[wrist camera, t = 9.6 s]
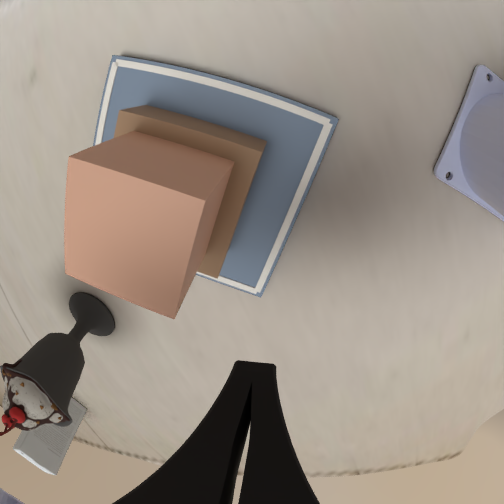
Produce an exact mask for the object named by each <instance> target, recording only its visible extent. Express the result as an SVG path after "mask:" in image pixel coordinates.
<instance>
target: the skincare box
mask: <svg viewBox="0 0 504 504" xmlns="http://www.w3.org/2000/svg"><path fill="white" fill-rule="evenodd" d="M86 411H87V409H86V408H85V407H83V406H82V405H81V404H80V403H78V402H77V401H76V400H75V399H73V398H72V397H71V400H70V403H69V407H68V413H69V415H70V416H71V418H72V423H71V424H70V425H68V426H65V427H61V426H57V425H54V424H43V425H41V426H39V427H38V428H36V429H35V430H31V431H24V430H22V432H21V434H20V436H19V437H18V439H17V441H16V443H15V445H14V447H13V450H15V451H16V452H17V453H19V454H20V455H22V456H23V457H25V458H26V459H27V460H28V461H30V462H31V463H33V464H34V465H35V466H37V467H38V468H40V469H41V470H43V471H45V472H46V473H49V474H52V475H57V473H58V470H59V468H60V466H61V464H62V461H63V459H64V457H65V455H66V452H67V450H68V448H69V446H70V444H71V442H72V440H73V438H74V435H75V433H76V431H77V429H78V427H79V425H80V423H81V421H82V419H83V417H84V415H85V413H86Z"/></svg>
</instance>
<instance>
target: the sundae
mask: <svg viewBox="0 0 504 504" xmlns="http://www.w3.org/2000/svg"><path fill="white" fill-rule="evenodd" d="M69 307H70V311H71V313H72V315H73V317H74V318H75V320H76V321H77V322H76V324H75V326H74V328H73V329H72V330H71V331H70V333H69V334H64V333H50V334H48V335H46V336H45V337H44V338H42V339H41V340H40V341H38V342H37V343H36V344H35V345H34V346H33V347H32V348H31V349H30V350H29V351H28V352H27V353H26V354H25V355H24V356H23V357H22V358H20V359H19V360H18V361H17V362H16V363H14V364H8V363H4V364H3V366H0V368H1V373H2V377H3V380H4V382H5V394H4V398H3V410H4V413H5V414H4V415H3V416H2V422H3V423H4V425H5V426H6V427H5V430H4V432H0V436H2V435H4V434H6V433H7V432H9V431H10V430H11V429H13V428H14V427H17V428H19V429H21V430H24V431H31V430H35V429H36V428H38V427H39V426H41V425H43V424H54V425H57V426H61V427H65V426H68V425H70V424H71V423H72V418H71V416H70V415H69V413H68V407H69V403H70V400H71V397H72V395H73V392H74V390H75V388H76V385H77V383H78V381H79V379H80V376H81V373H82V370H83V367H84V363H85V361H84V356H83V352H82V350H81V348H80V341H81V340H82V338H83V337H84V336H85V335H86V334H87V333H88V332H90V333H92V334H94V335H97V336H108V335H110V334H111V333H112V332H113V331H114V328H115V326H114V320H113V317H112V315H111V313H110V312H109V310H108V309H107V308H106V307H105V305H104V304H103V303H102V302H100V301H99V300H98V299H96V298H95V297H93V296H91V295H88V294H85V293H75V294H74V295H72V296H71V298H70V301H69ZM7 428H9V429H8V430H7Z"/></svg>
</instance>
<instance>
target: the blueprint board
mask: <svg viewBox="0 0 504 504" xmlns="http://www.w3.org/2000/svg"><path fill="white" fill-rule="evenodd" d="M338 120H339V119H338V118H336V117H334V116H332V115H329V114H327V113H325V112H322V111H320V110H317V109H315V108H312V107H310V106H307V105H305V104H302V103H299V102H297V101H294V100H291V99H289V98H286V97H283V96H280V95H277V94H274V93H272V92H269V91H266V90H263V89H260V88H256V87H253V86H250V85H247V84H244V83H240V82H237V81H234V80H230V79H227V78H223V77H219V76H216V75H212V74H208V73H204V72H200V71H196V70H192V69H188V68H184V67H179V66H175V65H170V64H165V63H160V62H155V61H149V60H144V59H138V58H132V57H126V56H117V55H112V59H111V63H110V67H109V70H108V74H107V78H106V83H105V87H104V91H103V96H102V100H101V105H100V110H99V115H98V121H97V126H96V132H95V138H94V144H93V146H95V145H97V144H100V143H102V142H105V141H108V140H110V139H113V138H115V137H118V136H121V135H124V134H126V133H129V132H132V131H136V132H140V133H143V134H147V135H150V136H154V137H157V138H161V139H164V140H168V141H171V142H175V143H178V144H181V145H184V146H188V147H191V148H194V149H197V150H201V151H204V152H207V153H210V154H213V155H216V156H219V157H222V158H225V159H228V160H231V161H234V165H233V168H232V171H231V174H230V177H229V180H228V183H227V186H226V189H225V192H224V196H223V199H222V202H221V205H220V208H219V211H218V215H217V218H216V221H215V224H214V227H213V231H212V234H211V237H210V241H209V244H208V247H207V250H206V254H205V256H204V258H203V260H202V262H201V264H200V266H199V268H198V270H197V272H196V275H198V276H201V277H204V278H207V279H209V280H212V281H215V282H218V283H221V284H223V285H226V286H229V287H232V288H235V289H238V290H241V291H244V292H246V293H249V294H252V295H255V296H258V297H261V296H262V294H263V292H264V290H265V288H266V285H267V283H268V281H269V279H270V277H271V275H272V272H273V270H274V268H275V266H276V263H277V261H278V259H279V257H280V255H281V252H282V250H283V248H284V246H285V243H286V241H287V239H288V237H289V234H290V232H291V230H292V228H293V225H294V223H295V221H296V219H297V216H298V214H299V212H300V209H301V207H302V205H303V203H304V200H305V198H306V196H307V193H308V191H309V189H310V186H311V184H312V182H313V179H314V177H315V175H316V172H317V170H318V168H319V165H320V163H321V161H322V158H323V156H324V154H325V151H326V149H327V146H328V144H329V142H330V139H331V137H332V134H333V132H334V130H335V127H336V125H337V122H338Z"/></svg>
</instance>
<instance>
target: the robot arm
mask: <svg viewBox="0 0 504 504" xmlns="http://www.w3.org/2000/svg"><path fill="white" fill-rule="evenodd" d="M487 74H488V75H489V77H490V79H489V81H488V80H487ZM447 172H450V176H449V178H447V179H446V174H447ZM434 174H435V176H436V177H437V178H438V179H439V180H441V181H443V182H444V183H446V184H448V185H449V186H451V187H453V188H454V189H456V190H457V191H459V192H461V193H462V194H464V195H465V196H467V197H468V198H470V199H472V200H473V201H475V202H476V203H478V204H479V205H481V206H482V207H484V208H485V209H487V210H488V211H489V212H491V213H492V214H494V215H495V216H497V217H498V218H499V219H501V220H502V221H504V81H503V80H502V79H500V78H499V77H498V76H497V75H496V74H495V73H493V72H492V71H491V70H490V69H488V68H487V67H486V66H484V65H477V66H476V67H475V70H474V73H473V75H472V78H471V81H470V84H469V87H468V89H467V92H466V95H465V97H464V100H463V103H462V105H461V108H460V110H459V113H458V115H457V118H456V120H455V123H454V125H453V127H452V130H451V132H450V134H449V137H448V139H447V141H446V144H445V146H444V148H443V150H442V152H441V155H440V157H439V159H438V161H437V163H436V165H435V168H434ZM250 421H251V424H250ZM249 425H250V439H249V447H248V453H247V459H246V465H245V470H244V476H243V482H242V487H241V493H240V498H239V503H238V504H320V503H319V501H318V500H317V498H316V496H315V494H314V492H313V490H312V488H311V487H310V485H309V483H308V481H307V479H306V476H305V474H304V472H303V470H302V468H301V465H300V463H299V461H298V458H297V456H296V453H295V450H294V448H293V445H292V442H291V439H290V436H289V433H288V430H287V427H286V423H285V420H284V416H283V412H282V408H281V404H280V399H279V393H278V387H277V379H276V366H275V365H274V364H269V363H258V362H248V361H239V360H238V361H236V362H235V364H234V366H233V369H232V371H231V373H230V375H229V378H228V380H227V381H226V383H225V385H224V387H223V389H222V391H221V392H220V394H219V396H218V397H217V399H216V401H215V402H214V404H213V405H212V407H211V408H210V410H209V411H208V413H207V414H206V416H205V417H204V418H203V420H202V421H201V423H200V424H199V425H198V427H197V428H196V429H195V431H194V432H193V433H192V434H191V436H190V437H189V438H188V439H187V440H186V441H185V443H184V444H183V445H182V446H181V447H180V448H179V449H178V450H177V451H176V452H175V453H174V454H173V455H172V456H171V457H170V458H169V459H168V460H167V461H166V462H165V463H164V464H163V465H162V466H161V467H160V468H159V469H158V470H157V471H156V472H155V473H153V474H152V475H151V476H150V477H149V478H148V479H146V480H145V481H144V482H142V483H141V484H140V485H139V486H137V487H136V488H135V489H133V490H132V491H131V492H129V493H128V494H126V495H125V496H123V497H122V498H120V499H119V500H117V501H116V502H114V503H113V504H232V501H233V495H234V488H235V483H236V477H237V473H238V468H239V465H240V461H241V457H242V453H243V449H244V445H245V441H246V437H247V433H248V429H249ZM0 504H24V503H23V502H21V501H20V500H18V499H17V498H15V497H14V496H12V495H10V494H8V493H7V492H5V491H4V490H2V489H1V488H0Z"/></svg>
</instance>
